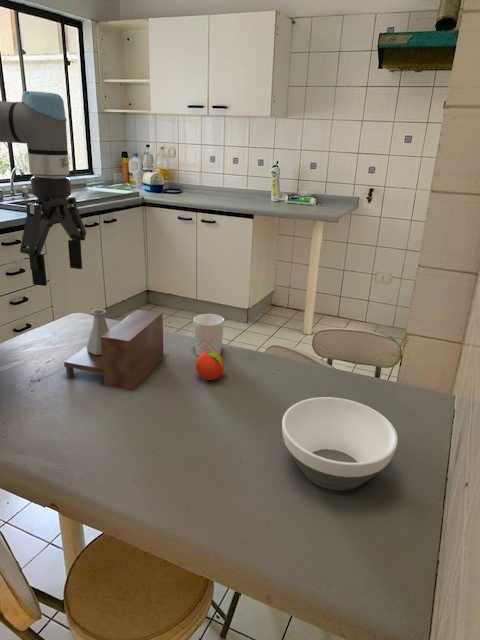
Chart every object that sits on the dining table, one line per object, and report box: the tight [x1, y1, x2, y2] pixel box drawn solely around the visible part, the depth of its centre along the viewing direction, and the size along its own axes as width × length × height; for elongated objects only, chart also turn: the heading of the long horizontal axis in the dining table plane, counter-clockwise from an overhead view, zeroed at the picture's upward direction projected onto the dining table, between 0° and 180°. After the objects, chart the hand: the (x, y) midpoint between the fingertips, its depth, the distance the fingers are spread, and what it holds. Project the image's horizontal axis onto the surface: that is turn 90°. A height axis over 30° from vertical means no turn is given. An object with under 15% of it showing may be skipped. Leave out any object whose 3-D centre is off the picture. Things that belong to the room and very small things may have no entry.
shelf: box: [63, 309, 165, 391], centre depth 113 cm, size 17×18×13 cm
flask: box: [86, 308, 110, 355], centre depth 112 cm, size 7×7×10 cm
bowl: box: [281, 396, 398, 491], centre depth 82 cm, size 20×20×10 cm
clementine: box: [195, 351, 225, 381], centre depth 111 cm, size 8×7×7 cm
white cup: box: [193, 313, 225, 357], centre depth 124 cm, size 8×8×10 cm
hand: (59, 276), depth 102 cm, fingers open, 13 cm apart
